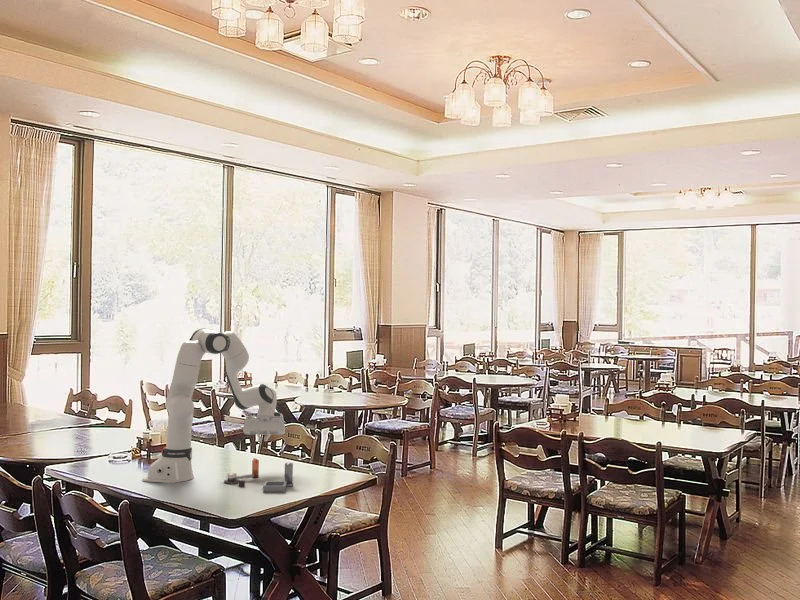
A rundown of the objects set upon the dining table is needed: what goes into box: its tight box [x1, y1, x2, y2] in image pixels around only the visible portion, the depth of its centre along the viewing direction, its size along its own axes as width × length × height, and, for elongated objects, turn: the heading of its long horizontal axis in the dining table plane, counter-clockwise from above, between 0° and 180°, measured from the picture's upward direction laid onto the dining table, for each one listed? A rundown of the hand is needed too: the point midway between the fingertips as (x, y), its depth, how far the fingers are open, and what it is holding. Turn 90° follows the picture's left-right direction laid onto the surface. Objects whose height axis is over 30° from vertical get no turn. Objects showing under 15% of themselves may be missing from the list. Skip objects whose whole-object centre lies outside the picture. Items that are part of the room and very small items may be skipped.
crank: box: [226, 457, 260, 481], centre depth 348 cm, size 14×4×9 cm, turn 121°
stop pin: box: [283, 462, 294, 488], centre depth 341 cm, size 4×4×10 cm
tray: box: [262, 480, 288, 494], centre depth 332 cm, size 9×9×3 cm
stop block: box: [238, 479, 246, 488], centre depth 338 cm, size 2×2×2 cm
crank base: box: [223, 479, 241, 485], centre depth 345 cm, size 7×7×1 cm
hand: (262, 440), depth 369 cm, fingers closed
